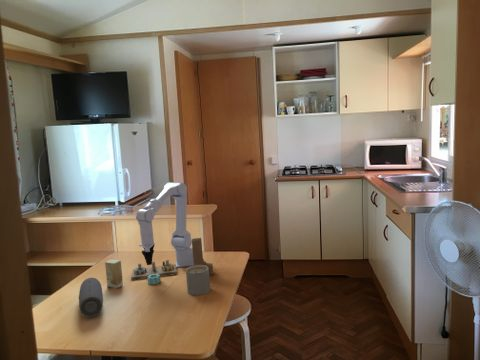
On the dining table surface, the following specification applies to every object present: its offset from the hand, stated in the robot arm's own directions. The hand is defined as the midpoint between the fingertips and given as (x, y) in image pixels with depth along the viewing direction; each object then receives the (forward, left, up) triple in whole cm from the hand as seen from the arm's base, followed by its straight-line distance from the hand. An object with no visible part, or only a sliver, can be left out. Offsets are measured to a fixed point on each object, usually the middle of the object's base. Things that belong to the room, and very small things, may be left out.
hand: (149, 262), depth 191 cm
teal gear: (-1, +2, -10) cm, 10 cm away
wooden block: (-25, +1, -10) cm, 27 cm away
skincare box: (+17, 0, -10) cm, 19 cm away
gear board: (-1, -10, -10) cm, 14 cm away
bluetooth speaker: (+24, +22, -10) cm, 34 cm away
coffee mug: (-21, +18, -10) cm, 29 cm away
